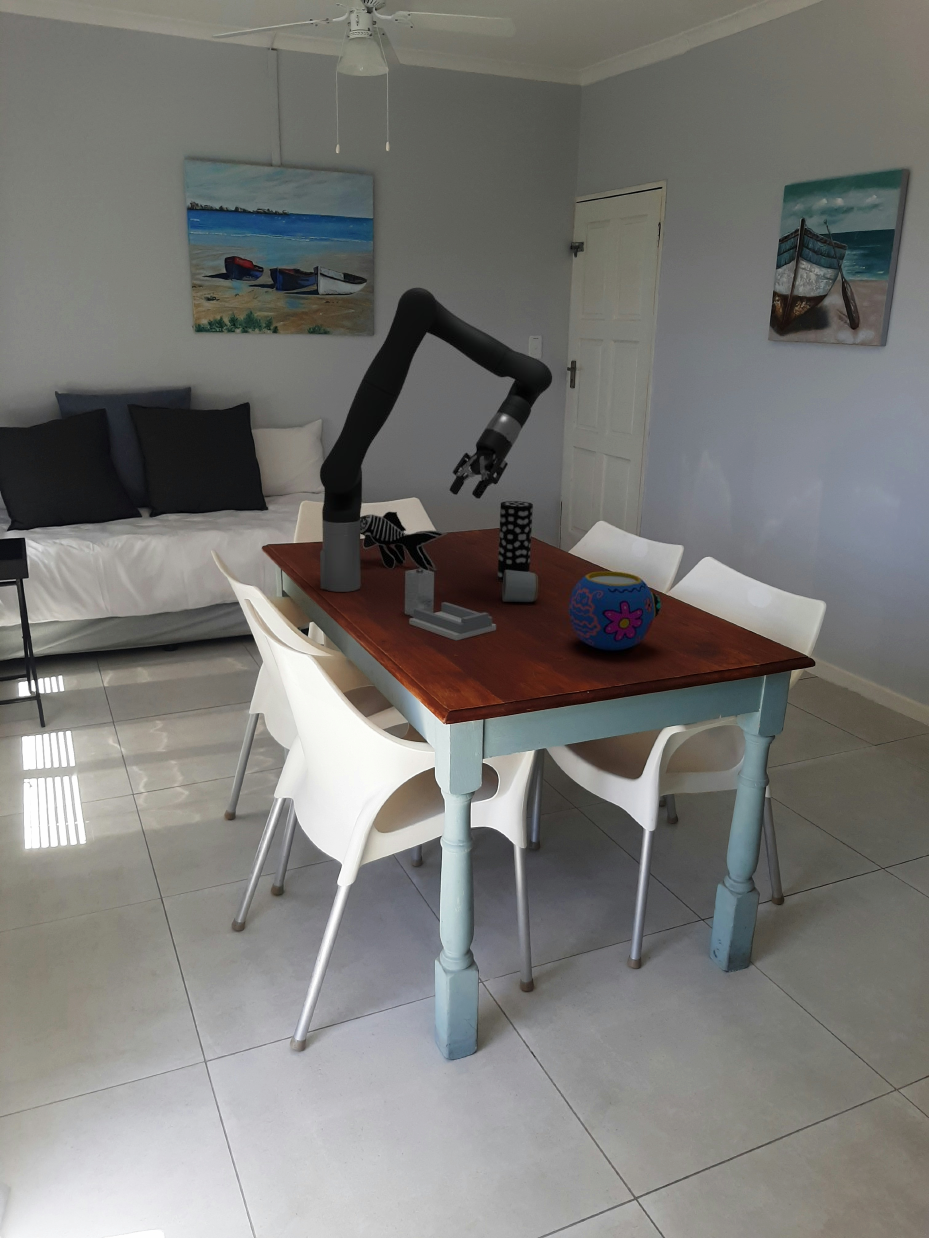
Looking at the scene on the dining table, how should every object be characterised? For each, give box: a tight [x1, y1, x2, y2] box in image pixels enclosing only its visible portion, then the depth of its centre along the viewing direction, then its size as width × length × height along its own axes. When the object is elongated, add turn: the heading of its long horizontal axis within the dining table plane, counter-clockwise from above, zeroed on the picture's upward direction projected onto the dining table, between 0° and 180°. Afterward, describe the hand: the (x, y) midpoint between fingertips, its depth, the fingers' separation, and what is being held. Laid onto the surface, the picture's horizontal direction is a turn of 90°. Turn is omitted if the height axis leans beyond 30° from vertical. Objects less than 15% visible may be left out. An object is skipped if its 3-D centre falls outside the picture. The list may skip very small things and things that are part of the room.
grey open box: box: [408, 601, 497, 641], centre depth 212 cm, size 15×12×4 cm
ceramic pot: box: [568, 570, 662, 652], centre depth 200 cm, size 18×18×15 cm
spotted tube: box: [496, 500, 534, 582], centre depth 252 cm, size 8×8×20 cm
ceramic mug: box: [501, 570, 539, 603], centre depth 235 cm, size 11×8×8 cm
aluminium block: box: [404, 567, 435, 618], centre depth 220 cm, size 5×5×10 cm
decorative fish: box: [360, 511, 448, 571], centre depth 262 cm, size 16×26×15 cm, turn 65°
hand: (463, 494), depth 222 cm, fingers open, 8 cm apart
